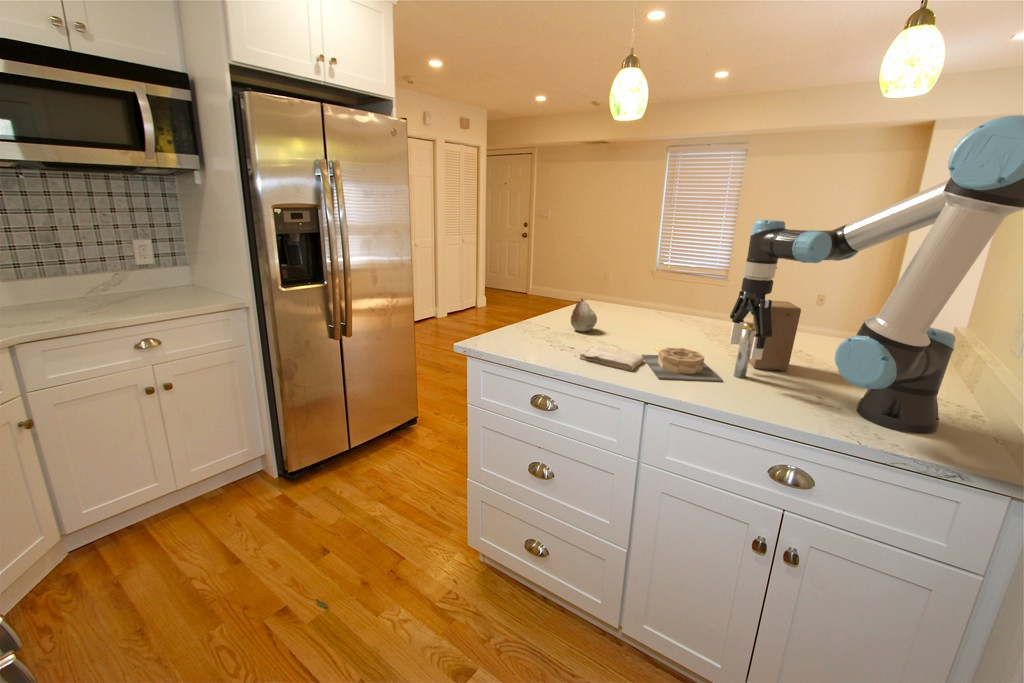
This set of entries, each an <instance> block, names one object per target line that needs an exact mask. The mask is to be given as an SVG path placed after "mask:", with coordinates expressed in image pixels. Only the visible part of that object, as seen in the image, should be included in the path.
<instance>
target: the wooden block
mask: <svg viewBox="0 0 1024 683" xmlns="http://www.w3.org/2000/svg"><path fill="white" fill-rule="evenodd" d="M771 301H772V304H771V322H772V336H771V337H766V339H765V344H764V349H763V354H762V358H761V360H758V359H750V358H749V363H748V364H750V365H751V366H752V367H753V368H755V369H758V370H768V371H769V370H770V371H781V372H786V371H788V370H789V366H790V361H791V357H792V352H793V349H794V344H795V339H796V334H797V330H798V325H799V321H800V317H801V314H802V309H801V307H799V306H797V305H795V304H794V303H791V302H790V301H785V300H771ZM751 323H754V317H753V318H752V322H751ZM754 324H755V323H754ZM755 334H756V328H755V332H754V335H755ZM753 341H754V337H753ZM752 346H753V343H752ZM751 351H752V348H751ZM750 356H751V353H750Z"/></svg>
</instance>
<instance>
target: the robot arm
mask: <svg viewBox="0 0 1024 683" xmlns="http://www.w3.org/2000/svg"><path fill="white" fill-rule="evenodd" d="M947 168H948V170H949V175H950V178H949V179H948V180H945V181H943V182H940V183H938V184H935V185H933V186H931V187H929V188H926V189H925V190H922V191H920V192H918V193H915V194H913V195H910V196H907V197H906V198H904V199H901V200H899V201H897V202H894V203H892V204H890V205H888V206H885V207H883V208H881V209H879V210H875V211H874V212H871V213H869V214H866V215H864V216H862V217H860V218H858V219H856V220H855V219H854V220H853V221H850V222H848V223H847V224H844V225H842V226H838V227H837V228H835V229H832V230H831V229H830V230H813V229H812V230H811V229H810V230H807V229H806V230H805V229H788V228H786V222H785V220H777V219H757V220H756V221H755V222H753V226H752V228H751V233H750V239H749V246H748V250H747V257H746V261H745V265H744V270H743V276H744V277H742V278H743V279H742V283H741V290H739V292H738V293H739V294H738V297H737V300H736V302H735V304H734V306H733V308H732V310H731V312H730V314H729V319H731V322H732V327H731V331H730V332H731V333H730V336H729V337H730V338H729V342H728V343H729V345H738V346H739V344H740V339H741V333H742V327H743V323H744V322H745V321H744V320H745V318H746V317H747V315H748V314H749V313H750V314H751V315H752V316H753V317H754V323H755V328H756V334H755V335H754V341H753V346H752V351H751V356H750V359H758V360H761V358H762V354H763V349H764V344H765V339H766V337H771V336H772V322H771V304H772V301H773V300H772V299H766V296H767V295H769V294H771V293H772V291H773V286H774V280H773V278H775V275H776V270H777V269H778V261H779V259H783V260H789V261H794V262H800V263H803V264H808V263H809V264H818V263H821V262H822V261H835V262H836V261H837V262H838V261H844V260H848V259H851V258H853V257H855V256H856V255H857V254H858V253H859V252H860V251H864V250H867V249H869V248H871V247H874V246H877V245H880V244H882V243H885V242H888V241H891V240H893V239H896V238H899V237H901V236H904V235H908V234H910V233H912V232H915V231H918V230H921V229H923V228H924V229H925V227H929V226H931V225H932V226H931V227H930V229H929V231H928V232H927V234H926V236H925V237H924V239H923V240H922V242H921V243H920V245H919V247H918V248H917V251H916V252H915V254H914V255H913V257H912V259H911V260H910V262H909V264H908V265H907V266H906V269H905V270H904V271H903V273H902V275H901V277H900V278H899V280H898V282H896V285H895V286H894V287H893V290H892V291H891V293H890V295H889V296H888V298H887V299H886V301H885V302H884V304H883V306H882V307H881V309H880V311H879V313H878V314H876V315H872V316H869V317H867V318H866V319H865V320H864V321H863V323H862V325H861V326H860V327H859V329H858V331H857V333H856V334H855V335H854V336H853V335H852V336H849V337H847V338H846V339H844V340H843V341H842V342H841V343H839V345H838V347H837V348H836V349H835V350H836V351H835V354H834V361H835V365H836V367H837V370H838V373H839V375H840V376H841V377H842V378H843V379H844V380H846V382H848V383H849V384H850V385H853V386H854V387H856V388H858V389H859V388H860V389H863V390H864V389H865V390H866V392H865V393H864V395H863V397H861V398H860V399H859V401H858V403H857V407H856V411H857V413H858V415H860V416H861V417H862V418H864V419H866V420H868V421H869V422H872V423H874V424H875V425H876V424H877V425H879V426H882V427H885V428H889V429H891V430H895V431H900V432H905V433H911V434H921V435H922V434H923V435H925V434H932V433H935V432H937V430H938V427H939V424H940V417H939V405H938V404H939V403H938V394H939V391H940V388H941V386H942V383H943V379H944V376H945V374H946V371H947V369H948V365H949V362H950V360H951V358H952V353H953V351H954V350H955V343H956V336H955V335H954V334H953V333H952V332H949V331H946V330H943V329H939V328H934V327H931V326H932V324H933V323H934V321H935V320H936V319H937V318H938V316H939V314H940V313H941V312H942V310H943V309H944V307H945V306H946V304H947V303H948V301H949V300H950V299H951V297H952V296H953V294H954V293H955V291H956V290H957V288H958V287H959V285H960V284H961V283H962V281H963V280H964V278H965V277H966V275H967V274H968V272H969V271H970V269H971V268H972V267H973V265H974V264H975V262H976V261H977V259H978V258H979V256H980V255H981V254H982V252H983V251H984V250H985V248H986V246H987V244H989V242H990V240H991V239H992V238H993V236H994V235H995V233H996V232H997V230H998V229H999V228H1000V226H1001V225H1002V223H1003V222H1004V220H1005V219H1006V218H1007V217H1009V215H1012V214H1015V213H1017V212H1021V211H1023V210H1024V115H1023V114H1021V115H1006V116H1002V117H997V118H994V119H991V120H989V121H986V122H984V123H981V124H980V125H978V126H976V127H975V128H973V129H971V130H970V131H969V132H967V134H965V135H963V137H962V138H961V139H960V140H959V141H958V142H957V143H956V145H954V148H953V149H952V151H951V154H950V155H949V158H948V164H947Z"/></svg>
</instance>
